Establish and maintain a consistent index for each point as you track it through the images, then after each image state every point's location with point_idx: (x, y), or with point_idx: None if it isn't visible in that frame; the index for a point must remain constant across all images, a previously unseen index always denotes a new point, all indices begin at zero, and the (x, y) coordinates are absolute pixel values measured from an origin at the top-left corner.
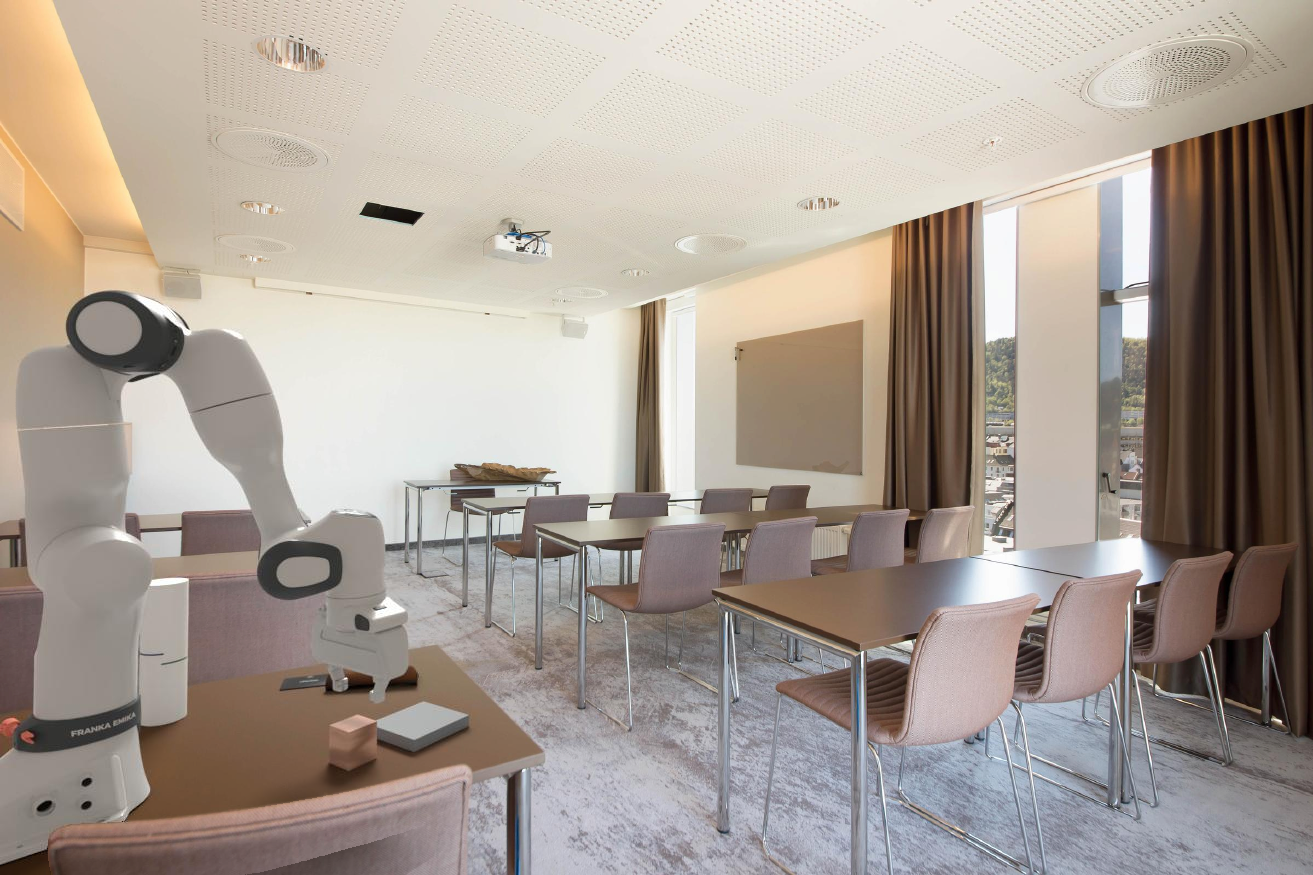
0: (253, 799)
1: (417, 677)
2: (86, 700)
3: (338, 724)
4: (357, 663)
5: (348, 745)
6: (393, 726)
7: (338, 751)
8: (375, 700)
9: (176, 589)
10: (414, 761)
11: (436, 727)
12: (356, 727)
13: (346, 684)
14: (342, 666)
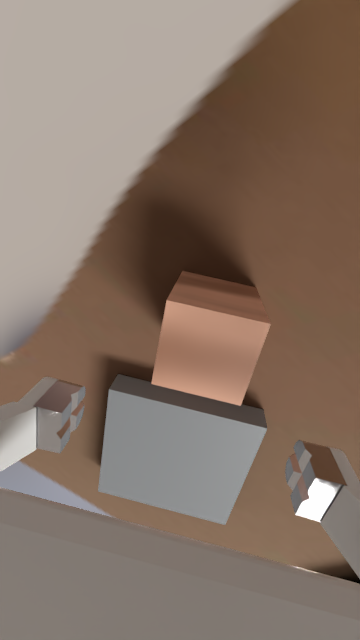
0: (310, 42)
1: None
2: None
3: (245, 336)
4: (6, 587)
5: (174, 287)
6: (199, 428)
7: (220, 289)
8: (39, 381)
9: None
10: (88, 344)
11: (111, 441)
12: (172, 334)
13: (292, 483)
14: (253, 566)
